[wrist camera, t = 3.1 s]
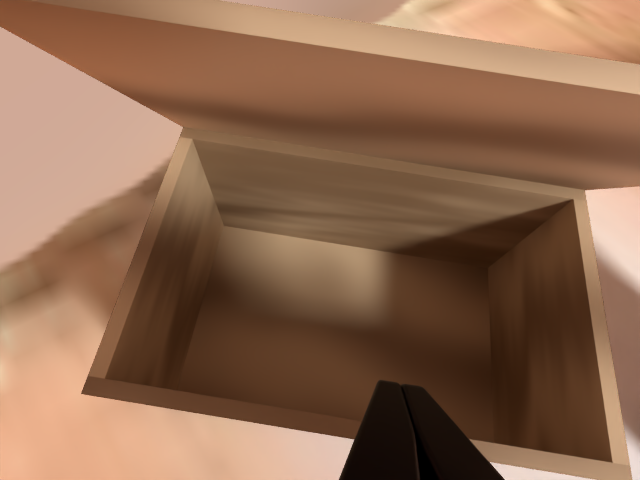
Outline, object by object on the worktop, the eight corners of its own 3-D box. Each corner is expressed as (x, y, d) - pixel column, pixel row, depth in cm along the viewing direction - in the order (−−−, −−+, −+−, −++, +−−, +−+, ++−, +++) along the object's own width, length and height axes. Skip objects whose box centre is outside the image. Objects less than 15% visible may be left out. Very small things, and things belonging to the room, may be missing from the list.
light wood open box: (500, 461, 18) (633, 485, 11) (164, 405, 19) (81, 393, 11) (492, 264, 23) (584, 190, 15) (219, 220, 23) (183, 127, 16)
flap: (1050, 157, 5) (1060, 128, 5) (-76, -16, 6) (-74, -45, 6) (584, 190, 15) (586, 179, 15) (183, 127, 16) (184, 117, 16)
